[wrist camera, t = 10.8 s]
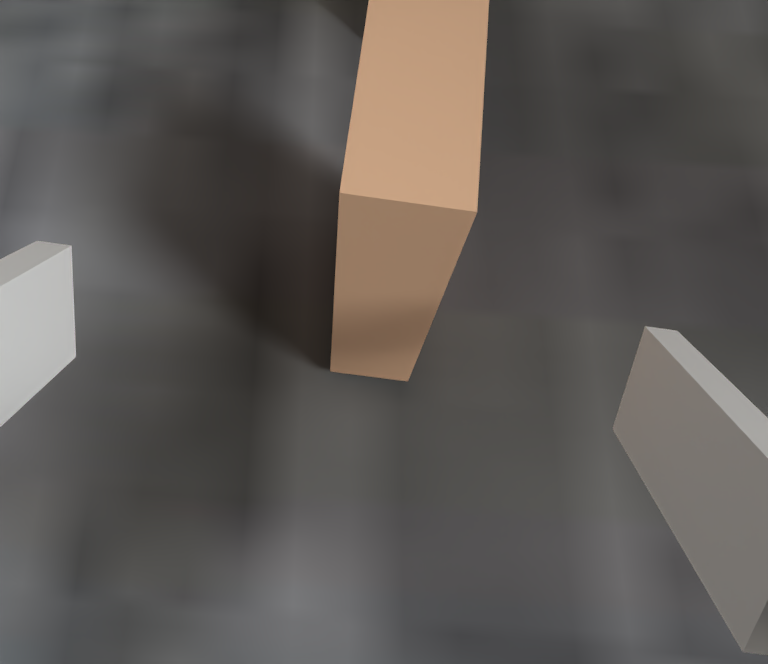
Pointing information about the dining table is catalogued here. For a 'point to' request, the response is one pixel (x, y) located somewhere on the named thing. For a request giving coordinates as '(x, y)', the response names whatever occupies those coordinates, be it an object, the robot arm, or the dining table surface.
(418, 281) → the tan rectangular block
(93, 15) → the dining table surface
